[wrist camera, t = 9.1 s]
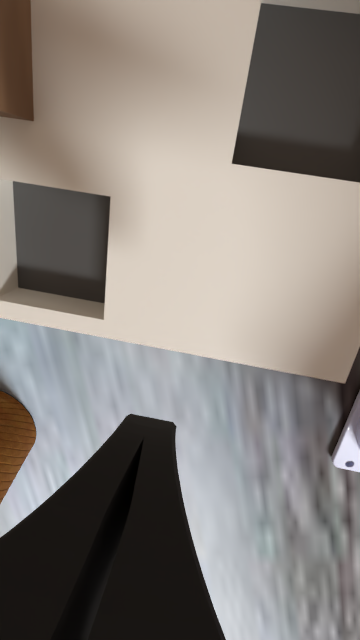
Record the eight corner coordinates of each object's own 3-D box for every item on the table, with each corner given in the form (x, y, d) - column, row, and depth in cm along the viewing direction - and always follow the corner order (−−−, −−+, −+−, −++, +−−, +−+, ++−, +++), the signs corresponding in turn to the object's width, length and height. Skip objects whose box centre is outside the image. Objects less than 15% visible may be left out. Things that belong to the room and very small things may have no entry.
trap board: (463, -5, 13) (577, -97, 9) (330, 359, 19) (359, 408, 15) (-73, -61, 14) (-197, -163, 10) (-32, 291, 20) (-99, 318, 16)
